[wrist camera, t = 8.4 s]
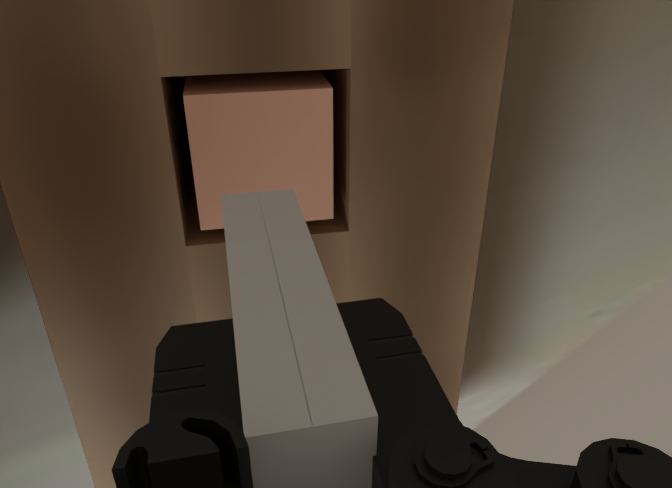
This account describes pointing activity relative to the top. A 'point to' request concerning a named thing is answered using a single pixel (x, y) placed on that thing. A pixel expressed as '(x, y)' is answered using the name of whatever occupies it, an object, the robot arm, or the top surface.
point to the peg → (260, 139)
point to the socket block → (178, 181)
